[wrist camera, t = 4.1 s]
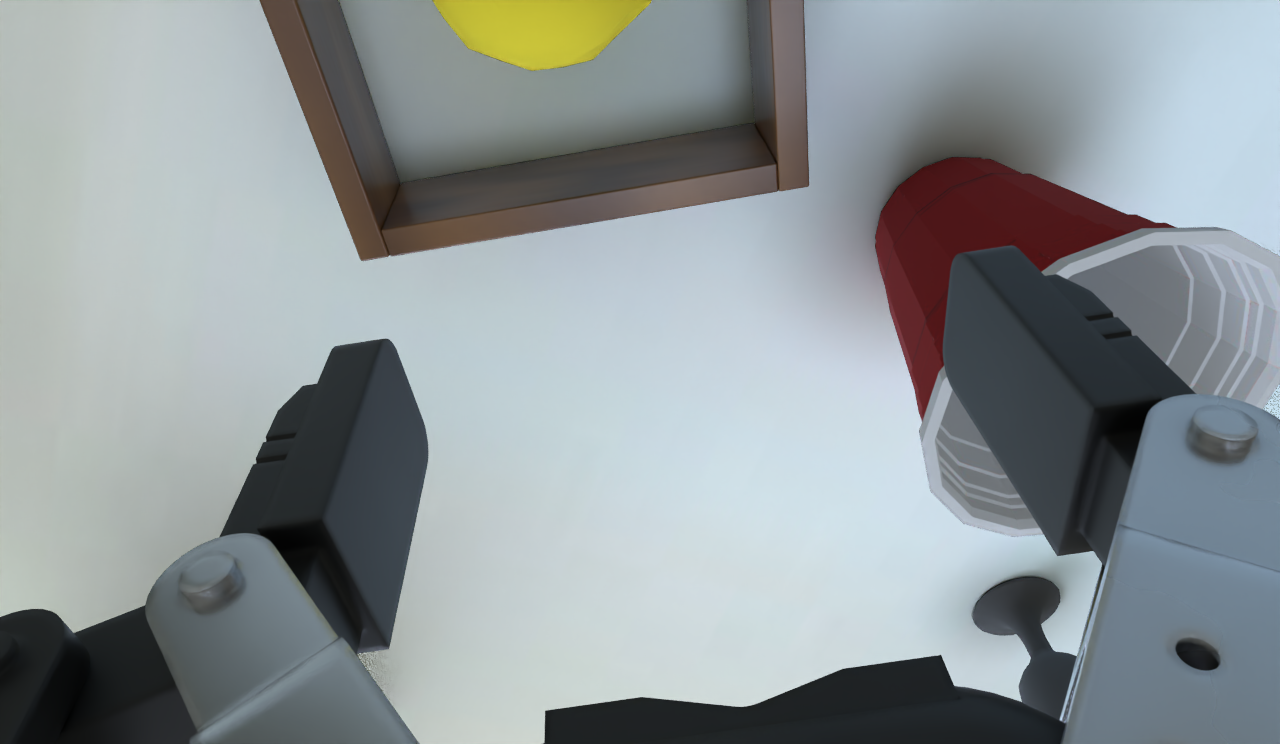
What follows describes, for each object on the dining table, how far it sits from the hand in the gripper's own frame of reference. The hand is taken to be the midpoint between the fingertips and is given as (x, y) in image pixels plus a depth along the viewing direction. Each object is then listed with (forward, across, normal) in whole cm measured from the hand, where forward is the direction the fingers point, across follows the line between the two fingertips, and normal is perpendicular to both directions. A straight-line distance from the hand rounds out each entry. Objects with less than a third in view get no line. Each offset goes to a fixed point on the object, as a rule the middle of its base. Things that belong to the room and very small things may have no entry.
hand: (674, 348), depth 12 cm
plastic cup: (+19, -12, +9) cm, 24 cm away
